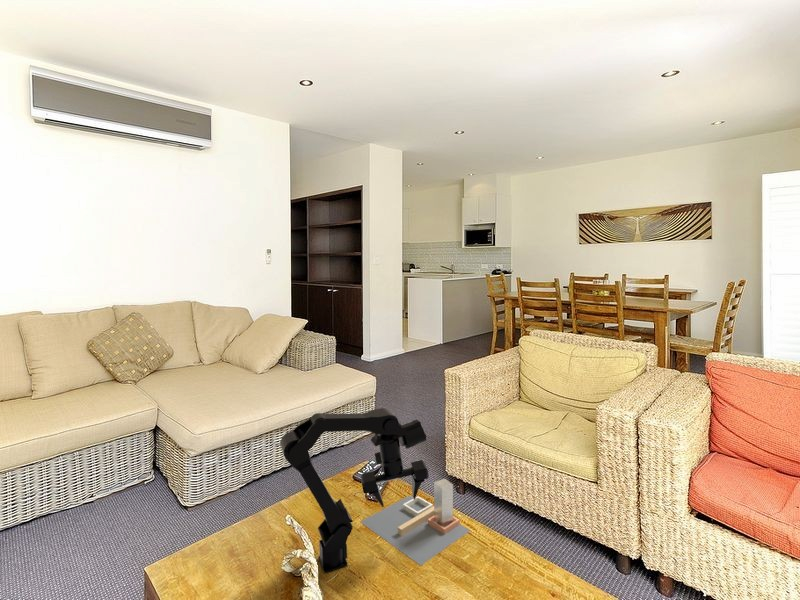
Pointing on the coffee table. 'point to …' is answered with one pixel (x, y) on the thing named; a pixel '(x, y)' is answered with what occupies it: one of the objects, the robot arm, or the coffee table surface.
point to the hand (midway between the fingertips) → (398, 502)
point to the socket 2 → (442, 529)
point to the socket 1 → (407, 505)
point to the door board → (412, 531)
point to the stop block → (443, 502)
